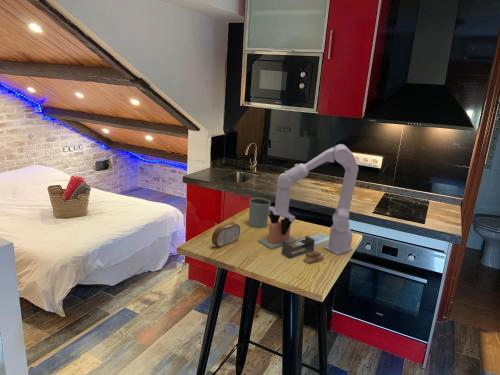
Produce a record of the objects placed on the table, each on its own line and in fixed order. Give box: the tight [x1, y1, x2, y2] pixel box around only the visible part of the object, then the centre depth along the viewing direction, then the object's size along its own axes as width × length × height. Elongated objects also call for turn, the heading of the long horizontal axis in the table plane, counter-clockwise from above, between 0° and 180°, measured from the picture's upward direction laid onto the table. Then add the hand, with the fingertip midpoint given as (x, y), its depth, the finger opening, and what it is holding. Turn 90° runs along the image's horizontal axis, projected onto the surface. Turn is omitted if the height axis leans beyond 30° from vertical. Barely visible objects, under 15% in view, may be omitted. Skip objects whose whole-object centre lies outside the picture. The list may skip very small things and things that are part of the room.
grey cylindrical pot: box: [248, 197, 272, 229], centre depth 176 cm, size 10×10×12 cm
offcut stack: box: [303, 249, 324, 265], centre depth 144 cm, size 8×3×4 cm, turn 127°
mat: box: [257, 235, 299, 250], centre depth 160 cm, size 16×8×1 cm, turn 128°
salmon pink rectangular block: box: [267, 221, 291, 244], centre depth 159 cm, size 10×2×8 cm, turn 128°
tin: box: [211, 221, 241, 248], centre depth 153 cm, size 15×3×8 cm, turn 141°
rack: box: [281, 235, 316, 259], centre depth 150 cm, size 14×5×5 cm, turn 128°
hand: (279, 232), depth 159 cm, fingers open, 5 cm apart
